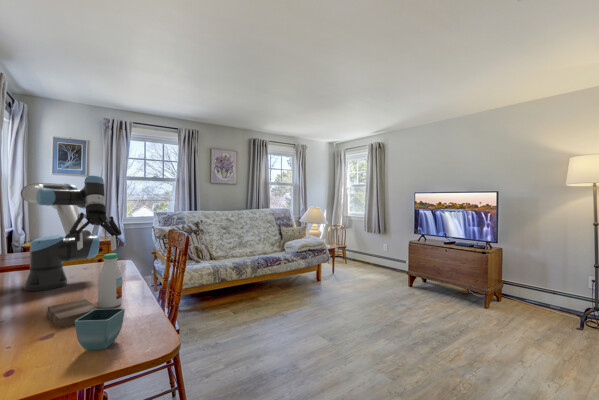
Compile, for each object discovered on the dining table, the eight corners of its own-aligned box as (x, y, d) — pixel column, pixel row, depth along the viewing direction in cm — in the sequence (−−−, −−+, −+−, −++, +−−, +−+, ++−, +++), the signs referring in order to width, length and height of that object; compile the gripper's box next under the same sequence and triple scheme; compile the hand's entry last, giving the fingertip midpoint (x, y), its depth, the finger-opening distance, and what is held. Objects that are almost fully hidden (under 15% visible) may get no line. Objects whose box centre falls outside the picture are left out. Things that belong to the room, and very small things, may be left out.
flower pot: (94, 338, 84) (94, 308, 84) (125, 337, 84) (125, 307, 85) (72, 354, 75) (73, 320, 75) (107, 353, 76) (108, 320, 76)
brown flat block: (47, 315, 100) (47, 306, 100) (84, 306, 109) (85, 298, 109) (59, 328, 90) (59, 318, 90) (99, 317, 99) (99, 308, 99)
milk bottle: (109, 309, 106) (110, 256, 106) (92, 308, 107) (93, 255, 107) (126, 302, 113) (127, 252, 113) (110, 301, 115) (110, 251, 115)
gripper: (68, 197, 120) (68, 244, 112) (127, 207, 141) (130, 247, 134) (59, 205, 123) (59, 251, 115) (118, 213, 144) (121, 252, 137)
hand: (97, 249), depth 125 cm, fingers open, 13 cm apart
